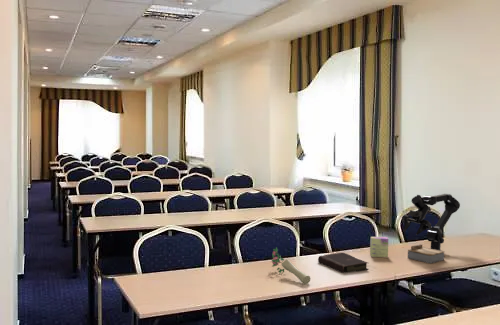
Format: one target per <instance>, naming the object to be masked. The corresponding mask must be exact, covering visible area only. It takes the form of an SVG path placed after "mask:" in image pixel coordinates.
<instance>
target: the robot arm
mask: <svg viewBox="0 0 500 325" xmlns="http://www.w3.org/2000/svg"><path fill="white" fill-rule="evenodd" d="M440 202H443V203H444V211H443V213H441V216H440V218H438V221H437V222H436V224H435V226H432V223H431V222H430V221H429V220H427V219H426V218H427V217H426V215H427V213H428V212H431V211H432V208H431V207H430V206H434V205H436V204H437V203H440ZM411 203H412V205H413V206H414V207H416V209H417V210H412V209H410V210H409V213H408V215H406V214H404V215H402V216H401V219H402V221H403V222H404V226H403V232H407V230H408V228H409V227H410V226H411V223H415V224H419V227H418V229H417V231H416V233H415V235H416V236H418V235H420V234H421V233H423V232H425V231H427V233H426V237H427V242H430V249H435V250H440V251H442V250H441V248H442V247H441V246H442V245H441V244H443V243H444V242H445V239H444V236H443V229H444V228H445V227H446V225H447V223H448V221H449V220H450V218H451V216H452V215H453V214H454V213H456V212H457V211H458V210H459V209H460V207H461V203H460V202H459V201H458V200H457V199H456V198H455V197H454V196H452V194H451V193H442V194H438V195H427V194H426V195H423V196H422V195H420V194H416V196H413V197H412V198H411ZM410 216H411V217H410Z"/></svg>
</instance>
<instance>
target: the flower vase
mask: <svg viewBox="0 0 500 325" xmlns="http://www.w3.org/2000/svg"><path fill="white" fill-rule="evenodd" d="M272 250H273V251H272V254H271V256H272V259H271V262H272V265H271V267H277V266H281V267H282V268H281V267H277V268H276V271H278V273H279V274H281V273H282V272H285V270H286V271H288V272H289V273H291V274H293V275H294V276H295V277H297V279H298V280H299V281H300V282H301V283H302V284H303V285H308V284H309V283H310V282H311V276H309V274H307V273H305V272H303V271H302V270H300V269H298V268H297V267H296V266H295V265H294V264H293V263H292V262H291V260H289V259H288V258H286V259H284V258H283V257H281V256H282V255H281V254H280V253H278V251H279V249H278V247H277V246H276V247H275V248H273V249H272ZM279 264H280V265H279Z"/></svg>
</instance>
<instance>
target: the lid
mask: <svg viewBox="0 0 500 325" xmlns="http://www.w3.org/2000/svg"><path fill="white" fill-rule="evenodd" d="M440 250H441V249H440ZM440 250H435V249H431V247H430V248H428V247H424V246H423V244H416V245H411V246H410V248H409V249H407V252H408V251H412V252H416V253H421V254H425V255H430V256H432V255H436V254H440V253H444V254H445V251H443V250H441V251H440Z"/></svg>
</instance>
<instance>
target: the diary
mask: <svg viewBox="0 0 500 325" xmlns="http://www.w3.org/2000/svg"><path fill="white" fill-rule="evenodd" d="M317 262H318V263H319V264H321V265H323V266H326V267H328V268H330V269H333V270H335V271H337V272H339V273H342V274H344V273H351V272H362V271H369V268H367V267H368V266H367V264H369V262H367V261H365V260H361V259H360V258H359V259H358V258H357V257H355V256H353V255H351V254H348V253H345V252H336V253H330V254H324V255H319V256H318V259H317Z"/></svg>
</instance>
